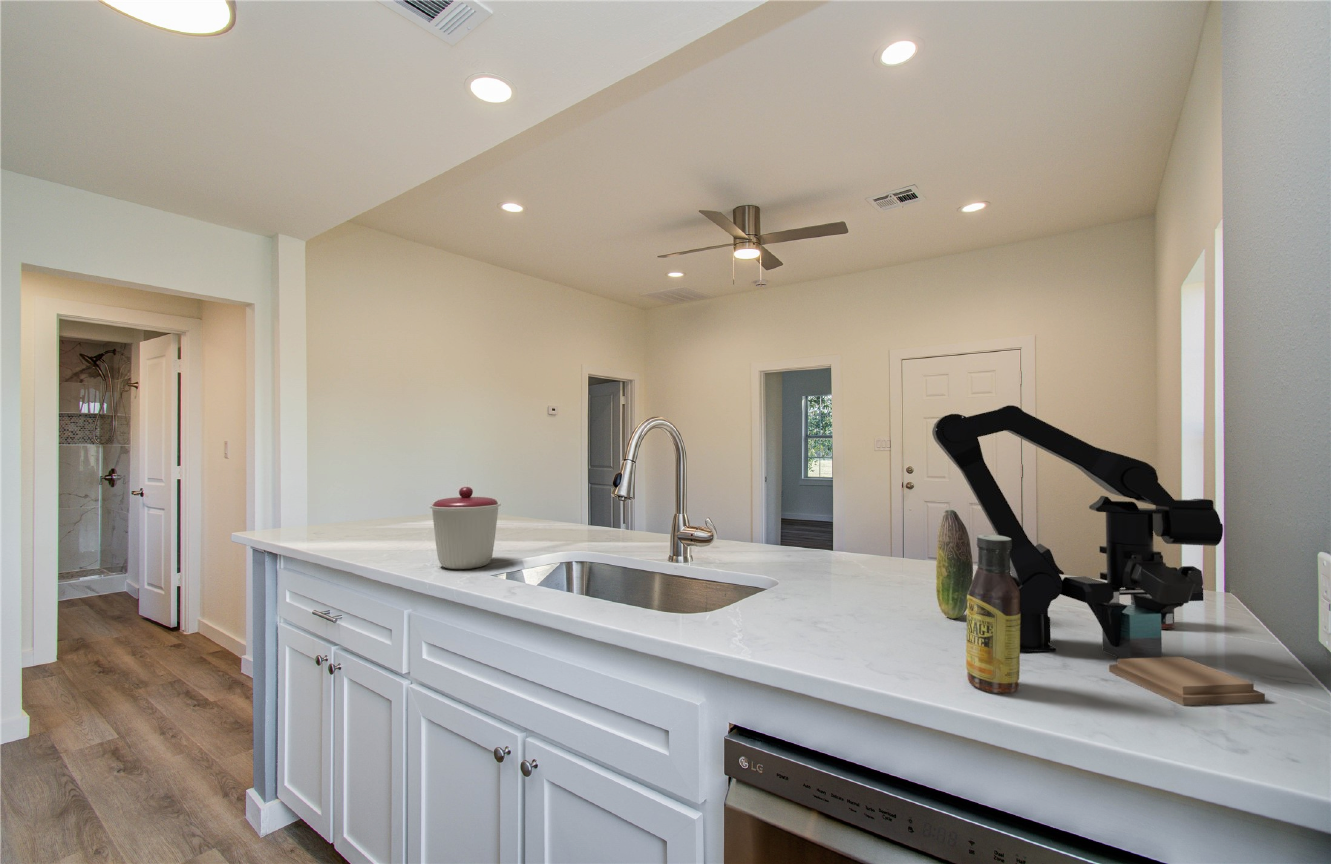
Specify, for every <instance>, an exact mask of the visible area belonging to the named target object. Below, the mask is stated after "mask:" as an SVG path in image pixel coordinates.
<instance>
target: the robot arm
mask: <svg viewBox="0 0 1331 864" xmlns="http://www.w3.org/2000/svg"><path fill="white" fill-rule="evenodd" d="M1000 432H1007V433H1010V434H1012V435H1014V436H1015V437H1017V438H1019V439H1021V440H1023V441H1025V442H1027V443H1029V444H1031V445H1033V446H1035V447H1037V448H1039V449H1041V450H1043V451H1045V452H1047V453H1049V454H1050V455H1052V456H1055V457H1057V458H1059V459H1061V460H1062V461H1064V462H1065V463H1068V464H1070V465H1071V466H1074V467H1075V468H1077V469H1078V470H1079V471H1081V472H1082V473H1083V474H1084V475H1086V476H1087V478H1089V479H1090V480H1091V481H1092V482H1094V483H1096V484H1097V485H1098V486H1099V487H1101V488H1102V489H1103V490H1105V491H1106V492H1108V493H1109V494H1112V495H1115V496H1117V497H1124V498H1128V499H1132V501H1130V500H1129V501H1125V500H1123V501H1122V500H1116V501H1115V500H1112V499H1110V498H1109V497H1108V496H1106V495H1101V496H1099V498H1098V499H1097V500H1096V501H1095V502H1093V503H1091V504H1090V505H1089V506H1088V508H1089V510H1090V511H1094V512H1097V513H1105V545H1099V546H1098V547H1099V553H1100V554H1105V556H1106V558H1105V559H1106V562H1105V563H1106V571H1105V572H1103V571H1102V572H1101V571H1100V572H1099V579H1100V580H1099V579H1096V578H1092V577H1088V576H1064V577H1063V578H1062V576H1061V575H1065V572H1064V571H1063V570H1061V569H1060V567H1059V566H1058V565H1057V563H1056V561H1055V558H1054V556H1053V555H1054V554H1053V553H1052V551H1051V549H1050V548H1049V547H1046V546H1045V545H1044V544H1041V543H1038V544H1036V545H1035V544H1034V543H1033V542H1032V541H1031V540H1030V538H1029V537H1028V535H1027V534H1026V532H1025V530H1024V528H1023V527H1022V525H1021V523H1020V521H1019V520H1018V518H1017V516H1016V514H1015V513H1014V511H1013V509H1012V508H1011V505H1010V504H1009V501H1008V500H1007V498H1006V497H1005V495H1004V493H1003V492H1002V490H1001V488H1000V486H999V484H998V483H997V481H996V480H995V477H994V476H993V474H992V472H991V471H990V469H989V467H988V465H987V464H986V461H985V459H984V454H983V451H982V448H981V444H980V441H979V437H981V438H982V437H984V436H988V435H993V434H997V433H1000ZM931 436H932V438H933V441H935V443H936V444H937V446H939V448H940V449H941V450H942V451H943V453H944V454H945V455H946V456H947V458H948V459H950V461H951V462H952V463H953V464H954V465H955V466H956V468H958V469H959V471H960V473H961V474H962V476H963V478H964V480H965V481H966V483H967V485H968V486H969V488H970V490H971V492H972V494H973V495H974V497H975V500H976V501H977V503H978V505H979V506H980V509H981V510H982V511H983V514H984V515H985V517H986V519H987V520H988V522H989V524H990V525H991V528H992V530H993V531H994V532H995V535H999V536H1005V537H1009V538H1011V539H1012V549H1011V550H1010V567H1011V569H1010V573H1011V576H1012V579H1013V580H1014V582H1015V583H1016V585H1017V587H1018V589H1019V593H1020V602H1019V604H1020V607H1019V611H1020V653H1021V652H1022V653H1025V652H1027V653H1028V652H1050V651H1051V652H1053V651H1054V652H1056V651H1057V647H1056V646H1054V645H1052V644H1051V643H1052V640H1051V637H1052V636H1051V633H1052V632H1051V617H1050V616H1049V608H1050V607H1051V606H1050V605H1051V603H1052V601H1054V600H1056V599H1058V597H1060V595H1061V596H1064V597H1067V598H1070V599H1073V600H1076V601H1078V602H1082V603H1085V604H1087V606H1088V607H1089V609H1090V610H1091V612H1092V614H1093V615H1094V617H1095V618H1096V620H1097V621H1098V623H1099V626H1100V627H1101V629H1103V631H1104V633H1105V635H1106V637H1107V639H1108V640H1109V642H1110V644H1111V645H1112V646H1114V647H1119V643H1120V614H1121V613H1122V612H1123V611H1124V609H1125V608H1126V607H1127V605H1128V604H1124V603H1121V602H1120V596H1131V595H1133V596H1134V602H1135V606H1137V607H1141V608H1144V609H1147V610H1150V611H1154V612H1157V613H1160V614H1161V624H1162V622H1163V620H1164V618H1165V617H1166V615H1167V613H1168V612H1170V611H1171V610H1173V609H1174V610H1175V609H1178V608H1182V607H1183V606H1184V605H1185V604H1189V602H1202V601H1203V602H1204V588H1203V585H1204V581H1203V571H1202V570H1200V569H1199V568H1197V567H1195V566H1194V565H1193V566H1192V565H1187V566H1185V565H1184V566H1180V567H1179V568H1177V567H1174V566H1171V567H1170V566H1168V565H1167V564H1166V565H1164V562H1165V561H1164V556H1163V554H1162V551H1158V550H1155V549H1154V547H1155V546H1154V535H1155V536H1156V537H1160V538H1161V540H1162V542H1164V543H1165V544H1167V545H1186V546H1205V547H1206V546H1208V547H1209V546H1210V547H1215V546H1218V545H1219V544H1220V543H1221V542H1222V539H1223V535H1224V534H1223V533H1224V525H1223V523H1222V522H1221V519H1220V516H1219V513H1218V511H1217V510H1216V509H1215V507H1214V500H1212V499H1209V498H1192V499H1176V498H1174V497H1173V496H1172V495H1171V494H1170V493H1169V492H1168V491H1167V490H1166V488H1164V487H1163V485H1162V484H1161V483H1160V482H1159V477H1158V473H1157V469H1155V467H1154V466H1152V465H1151V464H1149V463H1148V462H1147V461H1146V462H1145V461H1143V460H1139V459H1136V458H1133V457H1130V456H1128V455H1125V454H1121V453H1117V452H1112V451H1110V450H1106V449H1103V448H1100V447H1097V446H1094V445H1092V444H1090V443H1088V442H1086V441H1083V440H1081V438H1078V437H1076V436H1075V435H1072V434H1070V433H1067V432H1066V431H1064V430H1062V429H1060V428H1057V427H1056V426H1053V425H1052V424H1050V423H1048V422H1047V421H1046V422H1045V421H1043V420H1042V419H1040V418H1037V417H1036V416H1034V415H1031V414H1030V413H1028V412H1025V411H1024V410H1023V409H1022V408H1020V407H1019V406H1017V405H1011V404H1010V405H1009V404H1008V405H1004V406H1002V407H999V408H997V409H993V410H989V411H985V412H981V413H978V414H974V415H973V414H972V415H970V416H969V415H968V416H965V415H964V414H960V413H950V414H947V415H944V416H942V417H941V418H938V420H937V421H936V422H935V423H934V424H933V427H932V435H931ZM1133 500H1135V501H1137V502H1139V503H1143V504H1148V505H1151V506H1155V508H1153V507H1151V508H1150V507H1149V508H1148V507H1147V508H1145V507H1139V506H1138V505H1137V503H1135V502H1134V501H1133ZM1135 588H1137V589H1135ZM1138 588H1139V589H1138Z"/></svg>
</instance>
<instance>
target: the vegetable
mask: <svg viewBox="0 0 1331 864" xmlns="http://www.w3.org/2000/svg"><path fill="white" fill-rule="evenodd" d="M938 528H939V530H938V534H937V548H936V566H935V568H936V573H935V574H936V575H935V579H936V582H935V583H936V585H935V587H936V588H935V589H936V599H937V603H938V607H939V609H940V611H941V612H942V614H943V615H944V616H945V617H947V618H948V619H958V618H961V617H963V615H964V614H965V613H966V612H967V594H968V591H969V588H970V586H971V583H972V581H973V578H974V561H973V554H972V546H971V539H970V536H969V533H968V532H969V531H968V529H967V527H966V525H965V523H964V522H963V520H962V519H961V517H960V516H959V514H958V513H957V511H955V510H954V509H947V510H945V511H944V512H943V515H942V518H941V522H940V525H939V527H938Z"/></svg>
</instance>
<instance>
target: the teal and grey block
mask: <svg viewBox="0 0 1331 864" xmlns="http://www.w3.org/2000/svg"><path fill="white" fill-rule="evenodd" d="M1126 605H1127V607H1126V608H1125V609H1124V611H1123V612H1122V613H1121V614H1120V643H1119V647H1114V646H1112V645H1111V644H1110V642H1109V640H1108V639H1107V637H1106V635H1105V633H1104V631H1103V629H1102V628H1101V629H1102V633H1101V634H1102V636H1101V637H1102V652H1104V653H1106V654H1109V655H1112V656H1114V657H1116V658H1117V659H1131V658H1158V657H1163V647H1162V646H1163V643H1162V639H1163V638H1162V629H1161V614H1160V613H1157V612H1154V611H1150V610H1147V609H1144V608H1141V607H1137V606H1134V605H1131V604H1126Z"/></svg>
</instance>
